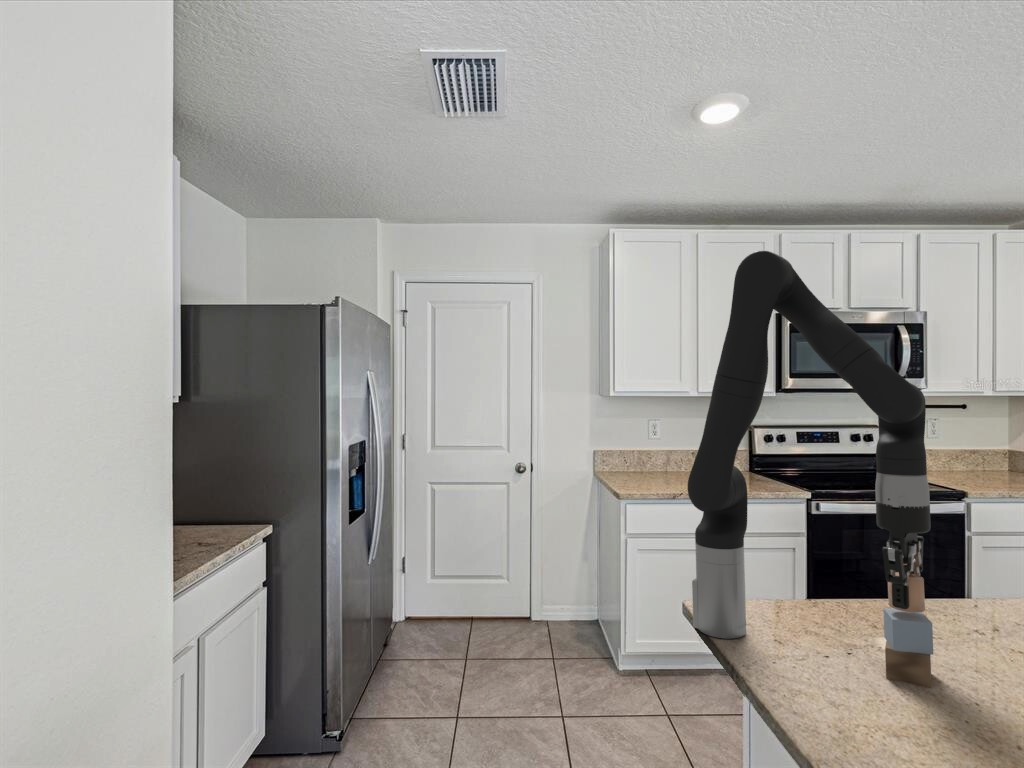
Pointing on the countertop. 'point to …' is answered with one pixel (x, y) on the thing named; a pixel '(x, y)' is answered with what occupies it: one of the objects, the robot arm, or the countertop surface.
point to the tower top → (908, 631)
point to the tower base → (908, 667)
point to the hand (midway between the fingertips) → (905, 603)
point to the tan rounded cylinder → (911, 594)
